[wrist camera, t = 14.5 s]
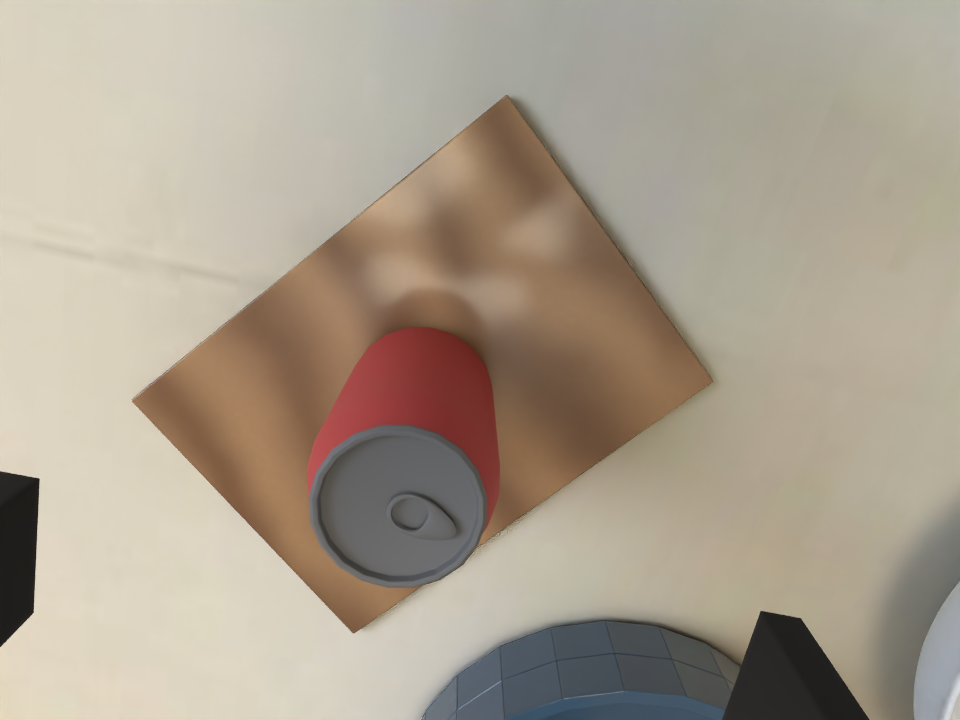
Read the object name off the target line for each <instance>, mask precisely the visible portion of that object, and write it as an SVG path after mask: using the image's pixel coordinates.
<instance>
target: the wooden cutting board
mask: <svg viewBox="0 0 960 720" xmlns="http://www.w3.org/2000/svg"><path fill="white" fill-rule="evenodd" d="M408 327H431V328H435V329H438V330H441V331H444V332H448V333H451V334H453V335H455V336H456V337H458V338H459V339H461V340H462V341H463V342H465V343H466V344H468V345H469V346H471V347H472V348H473V350H474V351H475V352H476V354H477V355H478V356H479V358H480V359H481V360H482V361H483V363H484V364H485V366H486V369H487V372H488V375H489V378H490V381H491V384H492V389H493V399H494V409H495V419H496V429H497V439H498V449H499V459H500V495H499V498H498V500H497V503H496V506H495V509H494V512H493V514H492V517H491V520H490V522H489V525H488V527H487V529H486V530H485V531H484V532H483V534H482V536H481V539H480V542H479V545H478V546H480V545H481V544H482V543H484V542H485V541H487V540H488V539H490V538H491V537H492V536H494V535H495V534H497V533H498V532H500V531H501V530H502V529H504V528H505V527H507V526H508V525H510V524H511V523H512V522H514V521H515V520H517V519H518V518H520V517H521V516H522V515H524V514H525V513H527V512H528V511H530V510H531V509H532V508H534V507H535V506H537V505H538V504H540V503H541V502H542V501H544V500H545V499H547V498H548V497H550V496H551V495H552V494H554V493H555V492H557V491H558V490H560V489H561V488H562V487H564V486H565V485H567V484H568V483H569V482H571V481H572V480H574V479H575V478H577V477H578V476H579V475H581V474H582V473H584V472H585V471H587V470H588V469H589V468H591V467H592V466H594V465H595V464H597V463H598V462H599V461H601V460H602V459H604V458H605V457H607V456H608V455H609V454H611V453H612V452H614V451H615V450H617V449H618V448H619V447H621V446H622V445H624V444H625V443H627V442H628V441H629V440H631V439H632V438H634V437H635V436H637V435H638V434H639V433H641V432H642V431H644V430H645V429H647V428H648V427H649V426H651V425H652V424H654V423H655V422H656V421H658V420H659V419H661V418H662V417H664V416H665V415H666V414H668V413H669V412H671V411H672V410H674V409H675V408H676V407H678V406H679V405H681V404H682V403H684V402H685V401H686V400H688V399H689V398H691V397H692V396H694V395H695V394H696V393H698V392H699V391H701V390H702V389H704V388H705V387H706V386H708V385H709V384H711V383H712V382H713V380H712V379H711V377H710V376H709V374H708V373H707V372H706V370H705V369H704V368H703V366H702V365H701V363H700V362H699V361H698V359H697V358H696V356H695V355H694V354H693V352H692V351H691V349H690V348H689V347H688V345H687V344H686V343H685V341H684V340H683V338H682V337H681V336H680V334H679V333H678V331H677V330H676V329H675V327H674V326H673V324H672V323H671V322H670V320H669V319H668V318H667V316H666V315H665V313H664V312H663V311H662V309H661V308H660V306H659V305H658V304H657V302H656V301H655V299H654V298H653V297H652V295H651V294H650V293H649V291H648V290H647V288H646V287H645V286H644V284H643V283H642V281H641V280H640V279H639V277H638V276H637V274H636V273H635V272H634V270H633V269H632V268H631V266H630V265H629V263H628V262H627V261H626V259H625V258H624V256H623V255H622V254H621V252H620V251H619V249H618V248H617V247H616V245H615V244H614V243H613V241H612V240H611V238H610V237H609V236H608V234H607V233H606V231H605V230H604V229H603V227H602V226H601V224H600V223H599V222H598V220H597V219H596V218H595V216H594V215H593V213H592V212H591V211H590V209H589V208H588V206H587V205H586V204H585V202H584V201H583V200H582V198H581V197H580V195H579V194H578V193H577V191H576V190H575V188H574V187H573V186H572V184H571V183H570V181H569V180H568V179H567V177H566V176H565V175H564V173H563V172H562V170H561V169H560V168H559V166H558V165H557V163H556V162H555V161H554V159H553V158H552V156H551V155H550V154H549V152H548V151H547V150H546V148H545V147H544V145H543V144H542V143H541V141H540V140H539V138H538V137H537V136H536V134H535V133H534V131H533V130H532V129H531V127H530V126H529V125H528V123H527V122H526V120H525V119H524V118H523V116H522V115H521V113H520V112H519V111H518V109H517V108H516V106H515V105H514V104H513V102H512V101H511V100H510V98H509V97H508V96H507V95H506V96H505V97H503V98H502V99H501V100H500V101H498V102H497V103H496V104H495V105H494V106H492V107H491V108H490V109H489V110H487V111H486V112H485V113H484V114H482V115H481V116H480V117H479V118H478V119H476V120H475V121H474V122H473V123H471V124H470V125H469V126H468V127H466V128H465V129H464V130H463V131H462V132H460V133H459V134H458V135H457V136H455V137H454V138H453V139H452V140H450V141H449V142H448V143H447V144H446V145H444V146H443V147H442V148H441V149H439V150H438V151H437V152H436V153H434V154H433V155H432V156H431V157H430V158H428V159H427V160H426V161H425V162H423V163H422V164H421V165H420V166H418V167H417V168H416V169H415V170H414V171H412V172H411V173H410V174H409V175H407V176H406V177H405V178H404V179H402V180H401V181H400V182H399V183H398V184H396V185H395V186H394V187H393V188H391V189H390V190H389V191H388V192H386V193H385V194H384V195H383V196H382V197H380V198H379V199H378V200H377V201H375V202H374V203H373V204H372V205H370V206H369V207H368V208H367V209H366V210H364V211H363V212H362V213H361V214H359V215H358V216H357V217H356V218H354V219H353V220H352V221H351V222H350V223H348V224H347V225H346V226H345V227H343V228H342V229H341V230H340V231H338V232H337V233H336V234H335V235H334V236H332V237H331V238H330V239H329V240H327V241H326V242H325V243H324V244H322V245H321V246H320V247H319V248H318V249H316V250H315V251H314V252H313V253H311V254H310V255H309V256H308V257H306V258H305V259H304V260H303V261H302V262H300V263H299V264H298V265H297V266H295V267H294V268H293V269H292V270H291V271H289V272H288V273H287V274H286V275H284V276H283V277H282V278H281V279H279V280H278V281H277V282H276V283H275V284H273V285H272V286H271V287H270V288H268V289H267V290H266V291H265V292H263V293H262V294H261V295H260V296H259V297H257V298H256V299H255V300H254V301H252V302H251V303H250V304H249V305H247V306H246V307H245V308H244V309H243V310H241V311H240V312H239V313H238V314H236V315H235V316H234V317H233V318H231V319H230V320H229V321H228V322H227V323H225V324H224V325H223V326H222V327H220V328H219V329H218V330H217V331H215V332H214V333H213V334H212V335H211V336H209V337H208V338H207V339H206V340H204V341H203V342H202V343H201V344H199V345H198V346H197V347H196V348H195V349H193V350H192V351H191V352H190V353H188V354H187V355H186V356H185V357H183V358H182V359H181V360H180V361H179V362H177V363H176V364H175V365H174V366H172V367H171V368H170V369H169V370H167V371H166V372H165V373H164V374H163V375H161V376H160V377H159V378H158V379H156V380H155V381H154V382H153V383H151V384H150V385H149V386H148V387H147V388H145V389H144V390H143V391H142V392H140V393H139V394H138V395H137V396H135V397H134V398H133V399H132V402H133V403H134V404H135V405H136V406H137V407H138V408H139V409H140V410H141V411H142V412H143V413H144V414H145V416H146V417H147V418H148V419H149V420H150V421H151V422H152V423H153V424H154V425H155V426H156V427H157V428H158V429H159V430H160V431H161V432H162V433H163V434H164V435H165V436H166V438H167V439H168V440H169V441H170V442H171V443H172V444H173V445H174V446H175V447H176V448H177V449H178V450H179V451H180V452H181V453H182V454H183V455H184V456H185V457H186V459H187V460H188V461H189V462H190V463H191V464H192V465H193V466H194V467H195V468H196V469H197V470H198V471H199V472H200V473H201V474H202V475H203V476H204V477H205V478H206V479H207V481H208V482H209V483H210V484H211V485H212V486H213V487H214V488H215V489H216V490H217V491H218V492H219V493H220V494H221V495H222V496H223V497H224V498H225V499H226V500H227V502H228V503H229V504H230V505H231V506H232V507H233V508H234V509H235V510H236V511H237V512H238V513H239V514H240V515H241V516H242V517H243V518H244V519H245V520H246V521H247V523H248V524H249V525H250V526H251V527H252V528H253V529H254V530H255V531H256V532H257V533H258V534H259V535H260V536H261V537H262V538H263V539H264V540H265V541H266V542H267V543H268V545H269V546H270V547H271V548H272V549H273V550H274V551H275V552H276V553H277V554H278V555H279V556H280V557H281V558H282V559H283V560H284V561H285V562H286V563H287V564H288V566H289V567H290V568H291V569H292V570H293V571H294V572H295V573H296V574H297V575H298V576H299V577H300V578H301V579H302V580H303V581H304V582H305V583H306V584H307V585H308V586H309V588H310V589H311V590H312V591H313V592H314V593H315V594H316V595H317V596H318V597H319V598H320V599H321V600H322V601H323V602H324V603H325V604H326V605H327V606H328V607H329V609H330V610H331V611H332V612H333V613H334V614H335V615H336V616H337V617H338V618H339V619H340V620H341V621H342V622H343V623H344V624H345V625H346V626H347V627H348V628H349V629H350V631H351V632H352V633H356V632H357V631H358V630H360V629H361V628H363V627H364V626H366V625H367V624H368V623H370V622H371V621H373V620H374V619H376V618H377V617H378V616H380V615H381V614H383V613H384V612H385V611H387V610H388V609H390V608H391V607H393V606H394V605H395V604H397V603H398V602H400V601H401V600H403V599H404V598H405V597H407V596H408V595H410V594H411V593H413V592H414V591H415V590H417V589H418V588H420V587H421V586H423V585H421V586H418V587H415V588H386V587H383V586H379V585H375V584H372V583H368V582H364V581H361V580H359V579H358V578H356V577H354V576H353V575H351V574H350V573H348V572H346V571H345V570H343V569H341V568H340V567H338V566H337V565H336V564H335V562H334V561H333V560H332V559H331V558H330V557H329V556H328V554H327V553H326V552H325V551H324V550H323V549H322V548H321V546H320V544H319V542H318V539H317V537H316V535H315V532H314V530H313V528H312V525H311V523H310V509H309V496H308V481H307V465H308V462H309V458H310V455H311V451H312V448H313V444H314V441H315V438H316V436H317V435H318V433H319V431H320V429H321V427H322V426H323V424H324V422H325V420H326V418H327V416H328V415H329V413H330V411H331V409H332V407H333V405H334V404H335V402H336V400H337V398H338V396H339V394H340V393H341V391H342V389H343V387H344V385H345V384H346V382H347V380H348V378H349V376H350V374H351V373H352V371H353V369H354V367H355V365H356V364H357V363H358V361H359V360H360V358H361V357H362V355H363V354H364V353H365V351H366V350H367V348H368V347H370V346H371V345H372V344H374V343H375V342H376V341H378V340H379V339H381V338H382V337H383V336H385V335H386V334H389V333H392V332H395V331H398V330H402V329H405V328H408ZM478 546H477V547H478Z"/></svg>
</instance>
